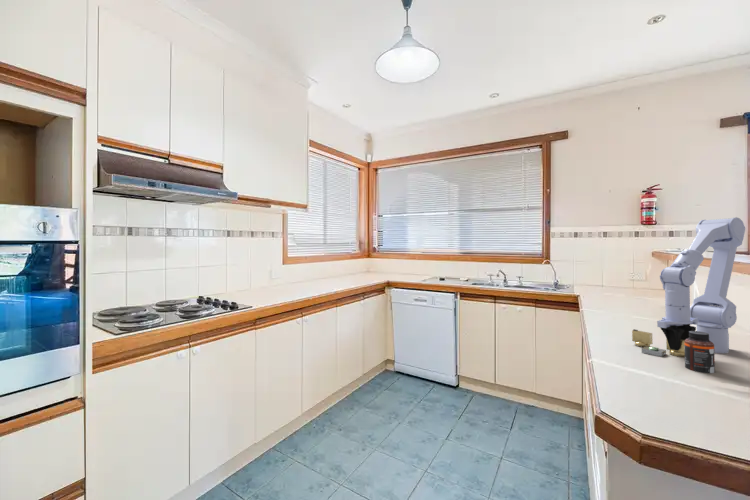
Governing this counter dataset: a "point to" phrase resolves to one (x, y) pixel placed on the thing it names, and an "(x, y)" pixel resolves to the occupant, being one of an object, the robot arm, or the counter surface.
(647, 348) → the instrument base
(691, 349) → the supplement bottle
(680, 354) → the knob
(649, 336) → the knob
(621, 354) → the counter surface
